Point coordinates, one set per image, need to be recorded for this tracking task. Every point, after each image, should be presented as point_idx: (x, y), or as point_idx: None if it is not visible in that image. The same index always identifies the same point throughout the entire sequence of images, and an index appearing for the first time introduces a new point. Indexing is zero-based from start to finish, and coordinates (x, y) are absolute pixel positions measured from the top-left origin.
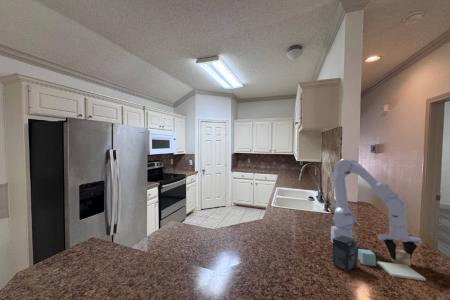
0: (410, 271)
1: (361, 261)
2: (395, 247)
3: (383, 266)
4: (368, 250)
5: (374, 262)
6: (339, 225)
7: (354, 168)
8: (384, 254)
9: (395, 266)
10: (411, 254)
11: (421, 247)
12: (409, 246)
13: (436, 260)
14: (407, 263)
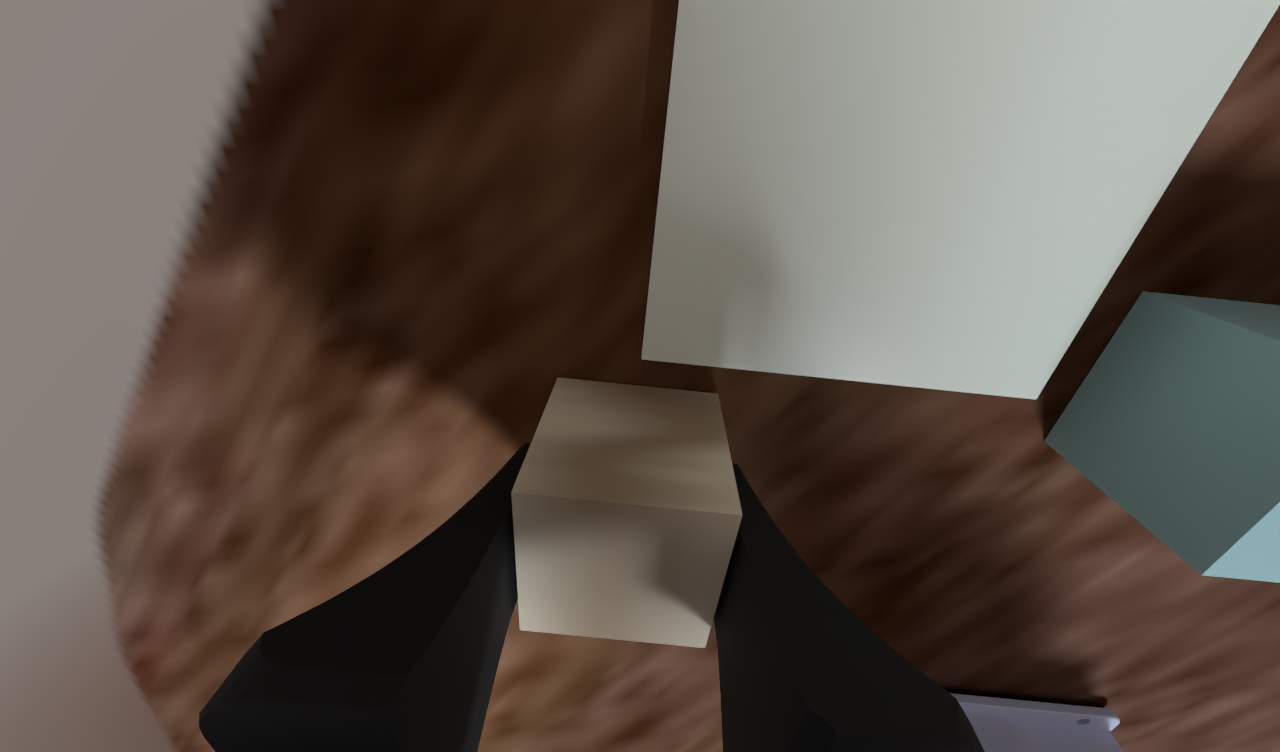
0: (769, 100)
1: None
2: (784, 629)
3: (1137, 223)
4: (1263, 557)
5: (1220, 314)
6: None
7: None
8: None
9: (887, 265)
10: (469, 509)
11: (200, 745)
12: (434, 666)
13: (163, 560)
14: (592, 397)
